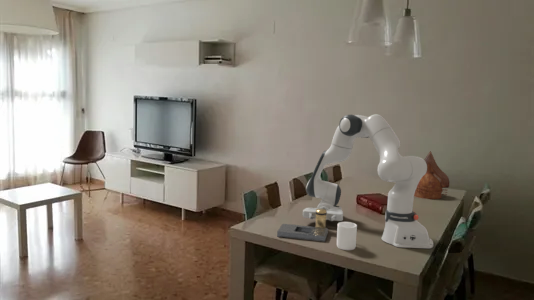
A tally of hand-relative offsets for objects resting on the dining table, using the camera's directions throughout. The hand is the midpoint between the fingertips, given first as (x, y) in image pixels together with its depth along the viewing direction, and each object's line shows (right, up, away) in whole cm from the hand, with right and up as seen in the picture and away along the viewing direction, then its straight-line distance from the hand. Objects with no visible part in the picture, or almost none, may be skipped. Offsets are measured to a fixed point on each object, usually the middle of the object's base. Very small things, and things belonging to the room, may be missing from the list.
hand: (321, 218), depth 213 cm
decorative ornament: (+79, +3, +76) cm, 110 cm away
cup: (+9, -9, -20) cm, 24 cm away
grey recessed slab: (-10, -6, -8) cm, 14 cm away
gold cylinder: (0, -5, 0) cm, 6 cm away
